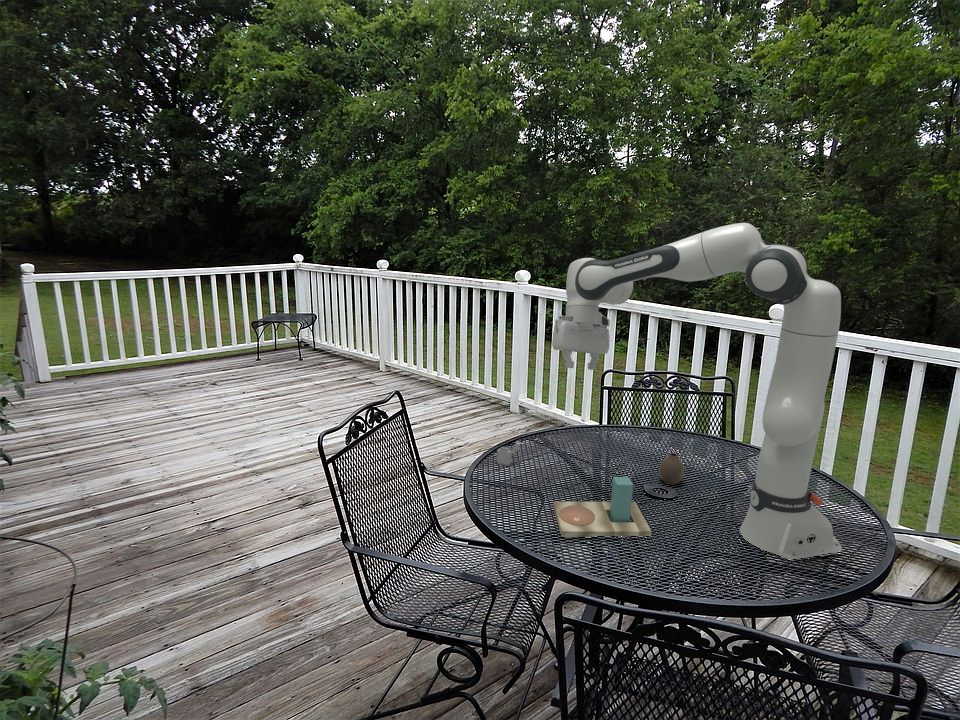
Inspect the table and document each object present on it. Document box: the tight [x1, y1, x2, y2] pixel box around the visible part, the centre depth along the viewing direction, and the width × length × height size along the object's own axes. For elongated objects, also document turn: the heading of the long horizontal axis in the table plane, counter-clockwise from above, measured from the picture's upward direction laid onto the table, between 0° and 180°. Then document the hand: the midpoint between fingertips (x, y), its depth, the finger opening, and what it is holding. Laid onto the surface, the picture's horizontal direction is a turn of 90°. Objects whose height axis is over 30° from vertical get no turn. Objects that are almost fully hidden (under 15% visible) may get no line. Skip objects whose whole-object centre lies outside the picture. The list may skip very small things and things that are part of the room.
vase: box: [658, 452, 685, 486], centre depth 167 cm, size 7×7×9 cm
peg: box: [609, 476, 634, 522], centre depth 145 cm, size 4×4×12 cm
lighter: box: [496, 440, 522, 466], centre depth 176 cm, size 7×2×8 cm, turn 72°
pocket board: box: [552, 501, 652, 537], centre depth 146 cm, size 22×14×2 cm, turn 92°
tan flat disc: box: [559, 506, 595, 526], centre depth 146 cm, size 9×9×1 cm
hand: (580, 368), depth 155 cm, fingers open, 8 cm apart
